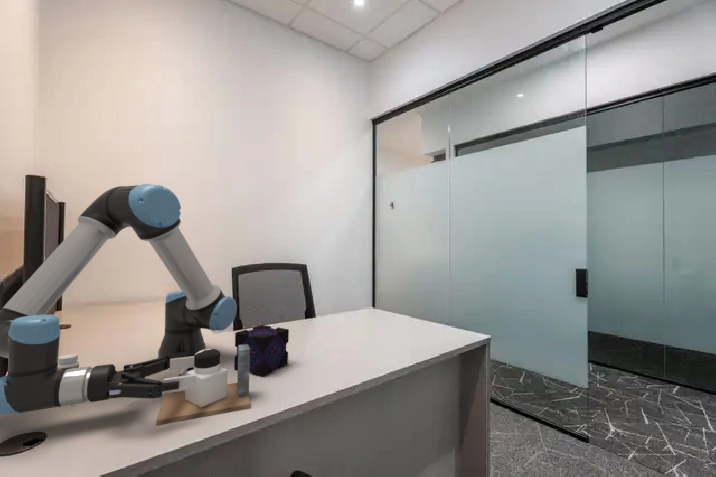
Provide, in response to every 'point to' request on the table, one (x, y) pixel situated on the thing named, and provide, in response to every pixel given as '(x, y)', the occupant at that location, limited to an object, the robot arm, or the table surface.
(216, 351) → the medicine bottle
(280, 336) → the energy cube
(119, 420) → the table surface
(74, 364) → the supplement bottle
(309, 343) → the table surface
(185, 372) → the watch
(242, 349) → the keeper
